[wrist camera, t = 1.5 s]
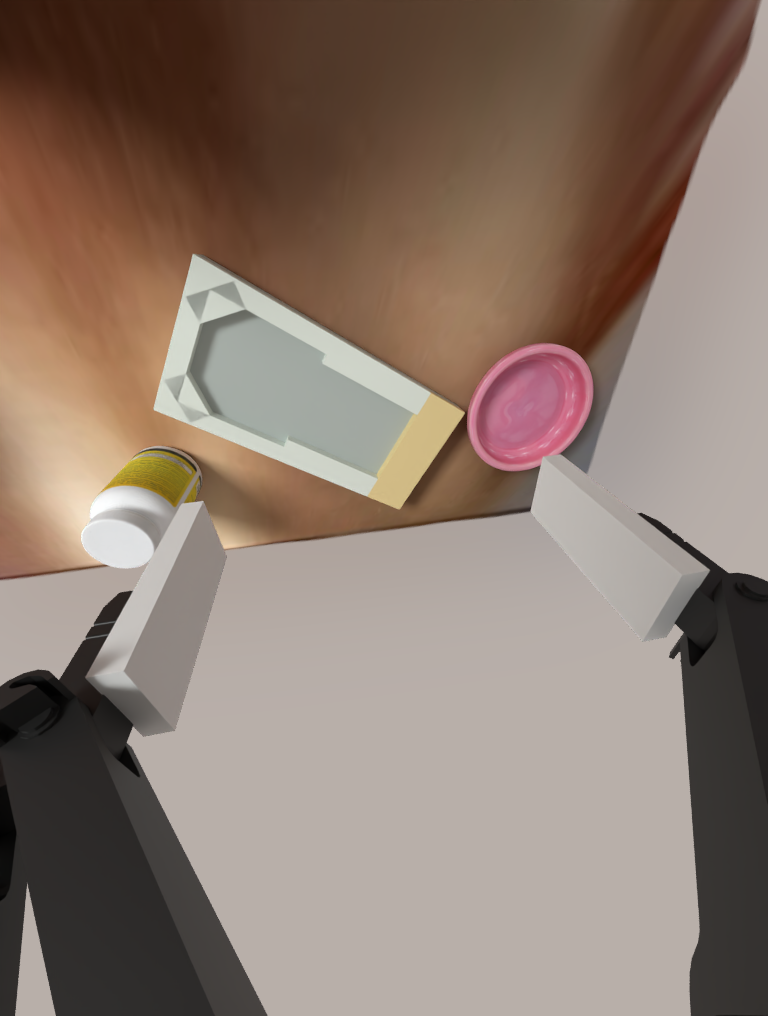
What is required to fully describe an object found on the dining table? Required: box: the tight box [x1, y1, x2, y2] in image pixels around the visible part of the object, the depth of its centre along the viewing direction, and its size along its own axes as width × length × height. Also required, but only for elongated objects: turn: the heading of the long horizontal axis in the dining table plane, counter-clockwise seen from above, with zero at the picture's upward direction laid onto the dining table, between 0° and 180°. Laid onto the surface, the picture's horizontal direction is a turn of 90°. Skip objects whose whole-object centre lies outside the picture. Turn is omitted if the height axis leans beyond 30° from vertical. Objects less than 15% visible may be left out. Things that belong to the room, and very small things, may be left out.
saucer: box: [467, 343, 593, 471], centre depth 35 cm, size 12×12×3 cm
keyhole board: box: [153, 254, 465, 509], centre depth 32 cm, size 24×12×2 cm, turn 60°
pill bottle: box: [81, 446, 202, 568], centre depth 30 cm, size 6×6×11 cm
